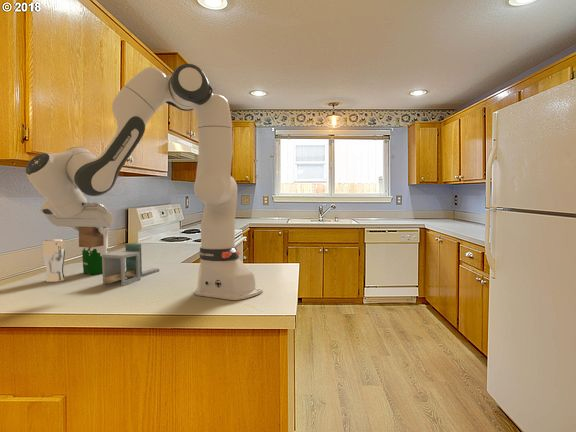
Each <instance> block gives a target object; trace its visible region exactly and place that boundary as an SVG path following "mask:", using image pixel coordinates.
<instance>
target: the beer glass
mask: <svg viewBox="0 0 576 432" xmlns="http://www.w3.org/2000/svg"><path fill="white" fill-rule="evenodd" d="M42 241H43V244H42V256H43V261H44V265H45V269H46V276H45V282H46V283H59V282H64V281H65V280H66V278H65V274H64V273H65V272H64V267H65V261H66V243H65V239H64V238H63V239H62V238H51V239H45V240H44V239H43V240H42Z"/></svg>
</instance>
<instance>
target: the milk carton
mask: <svg viewBox="0 0 576 432" xmlns="http://www.w3.org/2000/svg"><path fill="white" fill-rule="evenodd" d="M103 228H104V229H105V232H104V234H103V237H104V246H98V247H92V248H91V247H81V250H82V251H81V254H82V255H81V256H82V269H83V274H87V275H89V276H93V275H100V274H101V275H102V274H103V272H102V255H103V254H108V253H109V230H110V227H103Z"/></svg>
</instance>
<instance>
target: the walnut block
mask: <svg viewBox="0 0 576 432" xmlns="http://www.w3.org/2000/svg"><path fill="white" fill-rule="evenodd" d="M97 229H98V228H96V227H79V231H78V247H79V248H82V247H91V248H92V247H98V246H104V237H103V234H98V233H97V232H96V231H97Z"/></svg>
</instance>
